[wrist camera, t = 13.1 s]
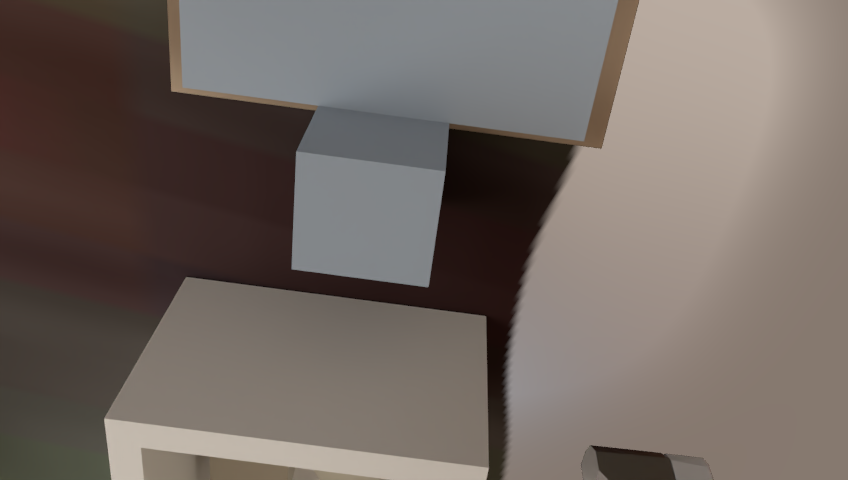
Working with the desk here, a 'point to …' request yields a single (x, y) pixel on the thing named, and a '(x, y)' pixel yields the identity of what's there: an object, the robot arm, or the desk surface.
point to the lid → (395, 103)
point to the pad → (593, 136)
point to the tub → (302, 391)
